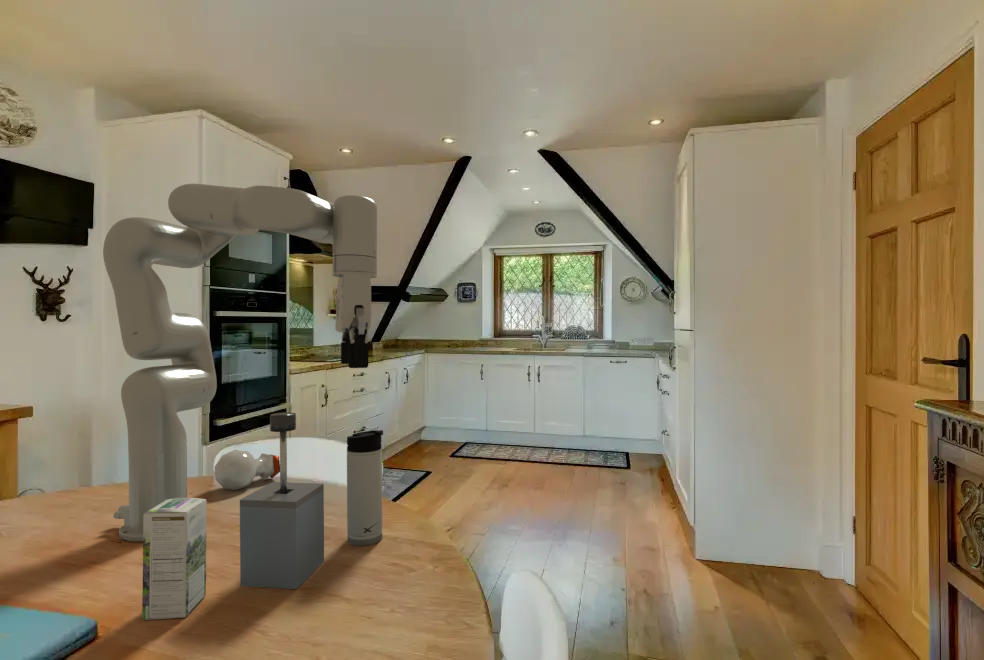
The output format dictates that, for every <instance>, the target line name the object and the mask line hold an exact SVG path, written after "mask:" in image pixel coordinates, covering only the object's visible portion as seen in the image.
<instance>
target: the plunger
mask: <svg viewBox="0 0 984 660" xmlns="http://www.w3.org/2000/svg"><path fill="white" fill-rule="evenodd" d="M296 429H297V413H296V412H288V411H287V412H277V413H276V412H275V413H272V414H270V415H269V431H270V432H272V433H279V461H280V472H279V477H280V478H279V479H280V480H279V482H280V494H287V482H288V462H287V461H288V451H287V450H288V447H287V445H288V442H287V441H288V440H287V438H288V435H287V434H288V433H287V432H293V431H295V430H296Z"/></svg>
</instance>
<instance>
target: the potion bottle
mask: <svg viewBox="0 0 984 660" xmlns="http://www.w3.org/2000/svg"><path fill="white" fill-rule="evenodd" d="M216 462H217V463H216V464H215V466H214V479H215V481H216V482H217V483H218V484H219V486H220V487H222V488H223V489H224V490H232V491H239V490H238V489H240V490H242V489H243V488H246V487H247V486H249V485H251V484H252V482H253V480H254V479H255V477H260V478H261V479H262V480H263V481H264V480H265V481H266V480H267V479H268V478H271V479H273V478H275V477H276V476H277V475H278V474H280V455H275V454H268V453H261V454H260V455H259V457H258V458H255V457H254V456H253V454H252V453H250V452H249V451H248V450H246V451H245V450H239V449H234V450H231V451H229V452H227V453H225V454H224V453H223V454H222V455H221V456H220V458H219V460H218V461H216ZM241 488H242V489H241Z"/></svg>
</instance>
